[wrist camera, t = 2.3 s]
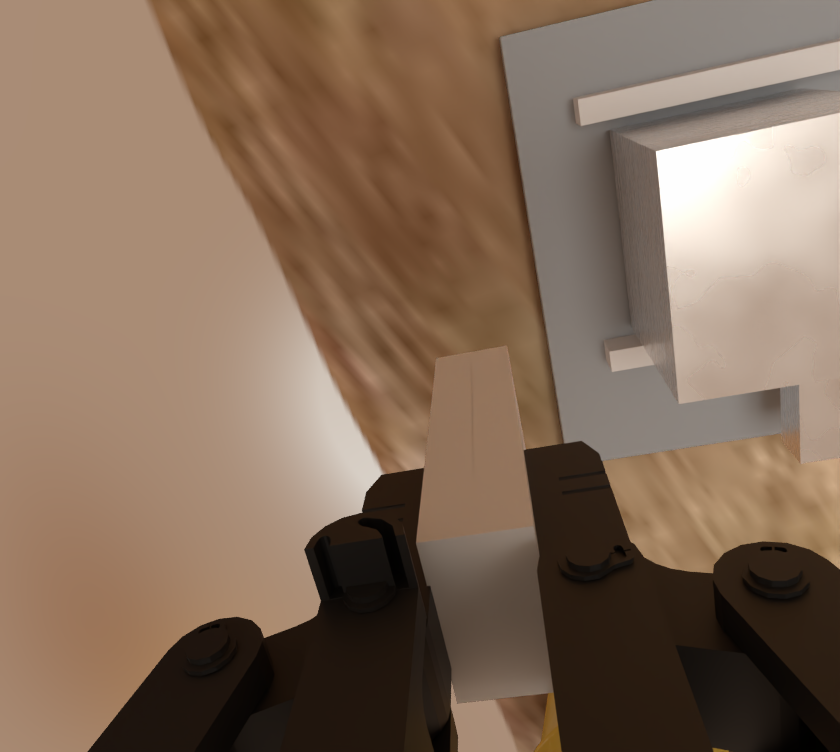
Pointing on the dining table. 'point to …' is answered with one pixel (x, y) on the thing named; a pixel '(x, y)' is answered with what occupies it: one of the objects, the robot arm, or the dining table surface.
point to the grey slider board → (597, 199)
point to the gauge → (740, 254)
